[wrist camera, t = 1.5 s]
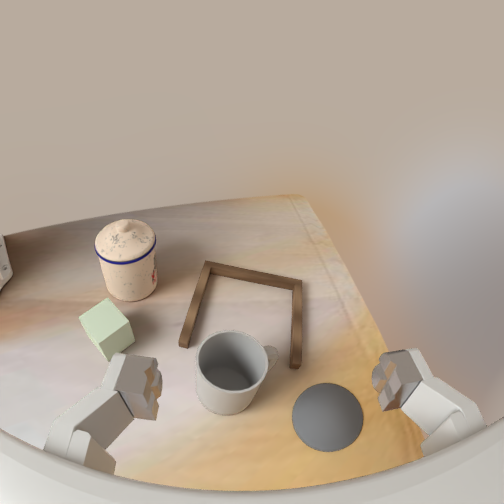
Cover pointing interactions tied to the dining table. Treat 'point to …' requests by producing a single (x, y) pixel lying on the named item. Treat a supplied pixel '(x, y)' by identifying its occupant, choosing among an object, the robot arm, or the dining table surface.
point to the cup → (231, 370)
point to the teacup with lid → (128, 259)
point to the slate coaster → (327, 417)
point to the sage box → (107, 328)
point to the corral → (256, 278)
